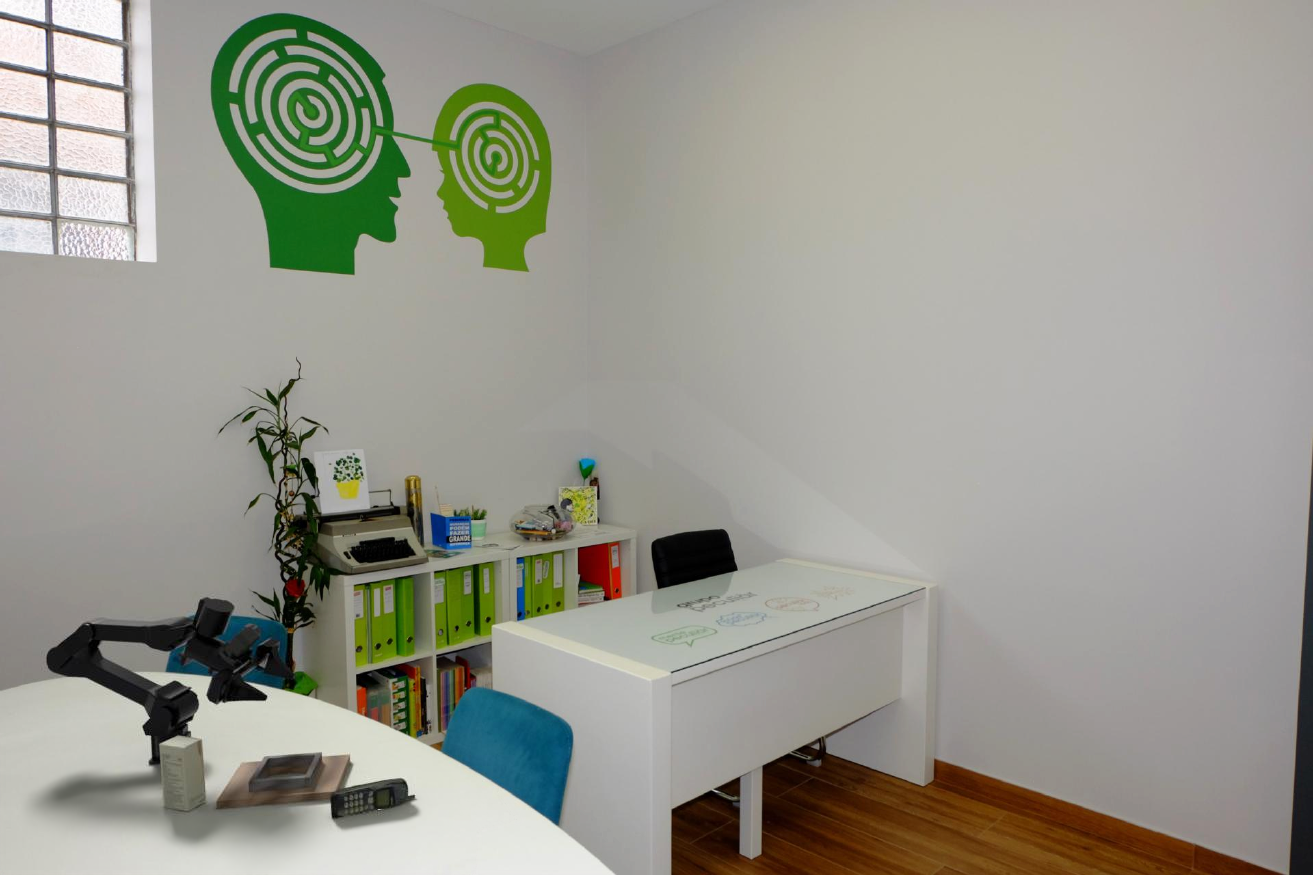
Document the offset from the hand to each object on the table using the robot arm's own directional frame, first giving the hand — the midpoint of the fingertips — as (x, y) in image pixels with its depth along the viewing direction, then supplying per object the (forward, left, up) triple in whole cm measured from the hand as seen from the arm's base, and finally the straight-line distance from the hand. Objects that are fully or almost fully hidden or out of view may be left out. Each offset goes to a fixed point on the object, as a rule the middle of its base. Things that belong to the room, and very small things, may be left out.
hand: (280, 687), depth 176 cm
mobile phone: (+21, -22, -17) cm, 35 cm away
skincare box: (-14, -14, -16) cm, 26 cm away
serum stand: (+3, -9, -16) cm, 19 cm away
